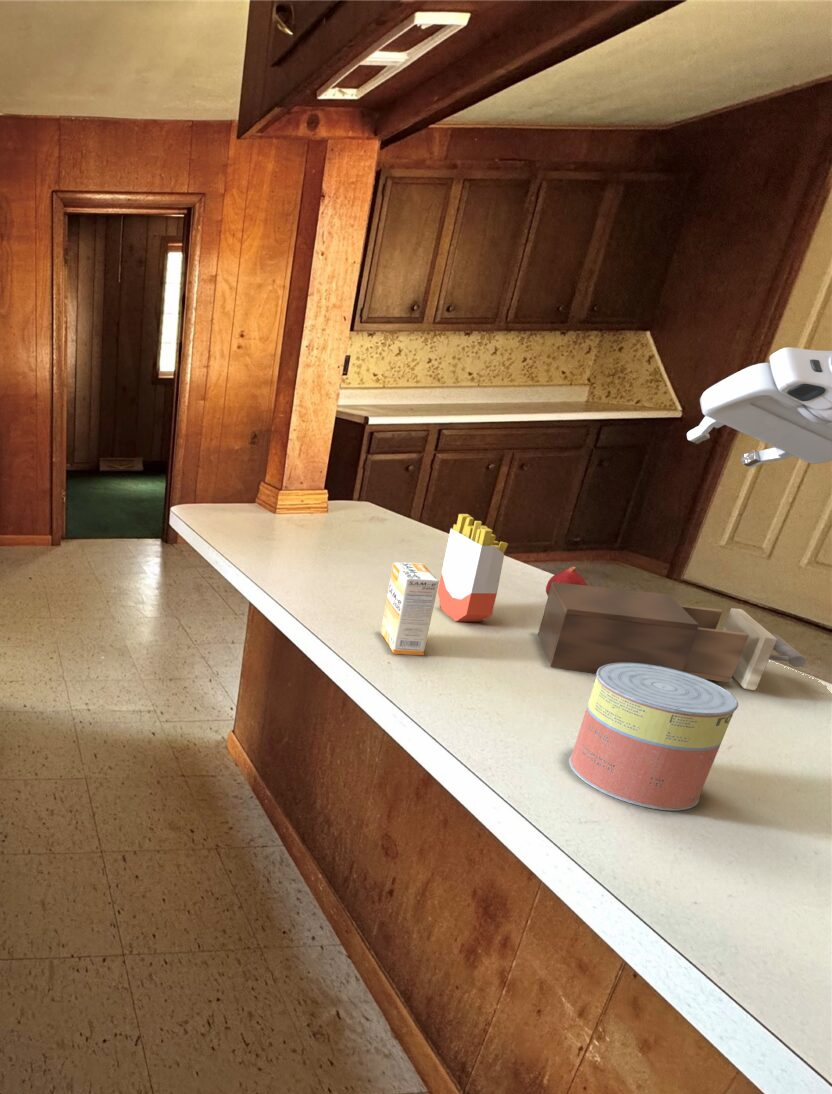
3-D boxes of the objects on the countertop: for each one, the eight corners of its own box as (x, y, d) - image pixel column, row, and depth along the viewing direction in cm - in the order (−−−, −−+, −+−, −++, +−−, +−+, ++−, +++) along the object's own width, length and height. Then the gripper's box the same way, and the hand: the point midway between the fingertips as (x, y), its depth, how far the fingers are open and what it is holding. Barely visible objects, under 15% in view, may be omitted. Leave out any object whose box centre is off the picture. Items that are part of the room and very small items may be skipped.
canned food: (724, 818, 69) (767, 719, 65) (597, 802, 72) (629, 706, 68) (661, 756, 79) (695, 667, 75) (552, 744, 82) (578, 658, 78)
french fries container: (460, 604, 124) (481, 511, 118) (491, 627, 114) (515, 527, 108) (434, 604, 125) (453, 511, 118) (462, 627, 115) (485, 527, 108)
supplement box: (378, 633, 114) (391, 561, 109) (409, 635, 113) (423, 562, 108) (391, 654, 106) (405, 578, 101) (424, 656, 105) (440, 579, 100)
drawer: (762, 661, 98) (782, 613, 95) (799, 697, 89) (823, 644, 86) (610, 641, 106) (624, 596, 103) (629, 671, 97) (646, 622, 94)
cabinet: (650, 650, 104) (669, 594, 101) (676, 686, 94) (699, 624, 91) (537, 635, 111) (551, 581, 107) (550, 666, 101) (567, 608, 97)
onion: (534, 605, 123) (545, 564, 120) (553, 599, 125) (564, 559, 122) (569, 615, 118) (581, 573, 115) (588, 609, 120) (600, 568, 117)
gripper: (900, 402, 88) (771, 460, 100) (772, 342, 86) (658, 409, 98) (913, 437, 85) (779, 493, 97) (782, 376, 83) (663, 441, 96)
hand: (717, 450), depth 98 cm, fingers open, 8 cm apart
